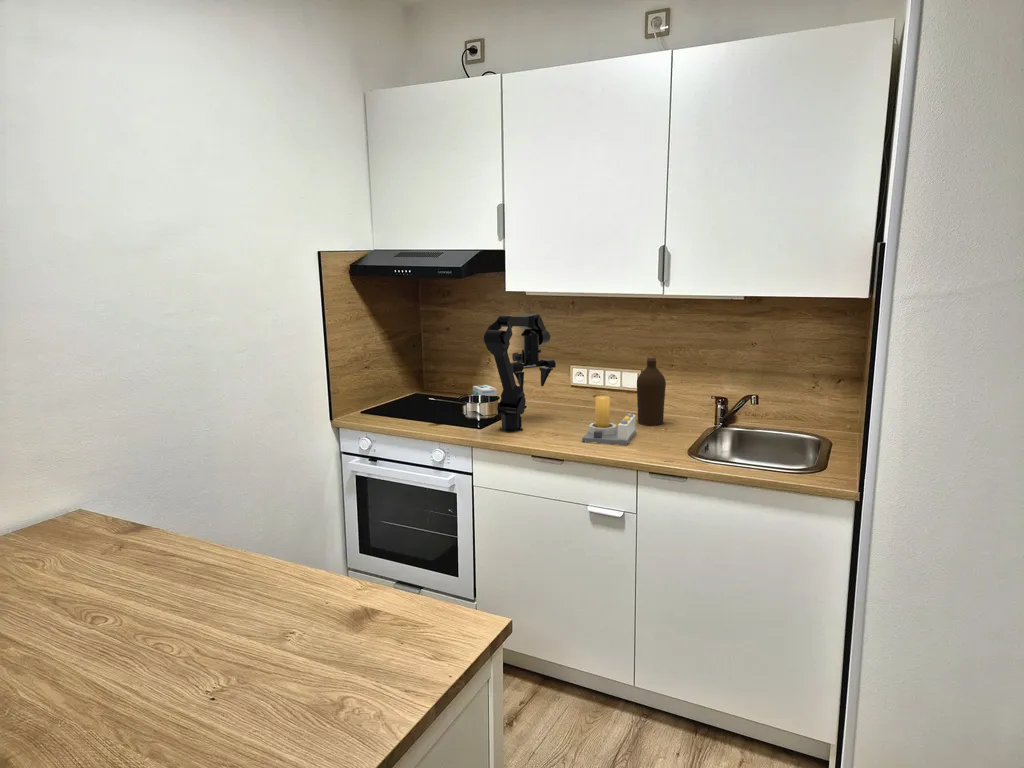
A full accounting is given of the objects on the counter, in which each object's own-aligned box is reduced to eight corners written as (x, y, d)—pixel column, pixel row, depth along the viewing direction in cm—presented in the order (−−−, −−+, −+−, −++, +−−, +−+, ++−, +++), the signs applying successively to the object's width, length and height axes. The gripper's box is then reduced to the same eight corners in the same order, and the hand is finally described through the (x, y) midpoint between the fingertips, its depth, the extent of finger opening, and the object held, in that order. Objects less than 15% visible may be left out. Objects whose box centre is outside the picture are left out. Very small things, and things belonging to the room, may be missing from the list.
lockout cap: (595, 434, 235) (595, 398, 233) (595, 430, 240) (595, 395, 238) (610, 434, 235) (610, 398, 232) (609, 430, 240) (609, 395, 237)
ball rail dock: (582, 442, 231) (582, 419, 230) (594, 429, 248) (594, 408, 246) (626, 445, 226) (626, 422, 224) (635, 432, 242) (636, 410, 241)
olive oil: (652, 427, 249) (653, 360, 244) (630, 422, 257) (631, 357, 252) (670, 422, 255) (672, 356, 251) (648, 418, 263) (649, 354, 259)
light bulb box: (472, 411, 281) (472, 385, 279) (487, 409, 283) (487, 384, 281) (482, 416, 271) (482, 390, 269) (498, 414, 274) (497, 388, 272)
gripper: (541, 343, 269) (541, 381, 272) (499, 346, 260) (500, 387, 263) (556, 345, 259) (556, 386, 262) (514, 349, 250) (514, 391, 253)
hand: (532, 387), depth 260 cm, fingers open, 9 cm apart
